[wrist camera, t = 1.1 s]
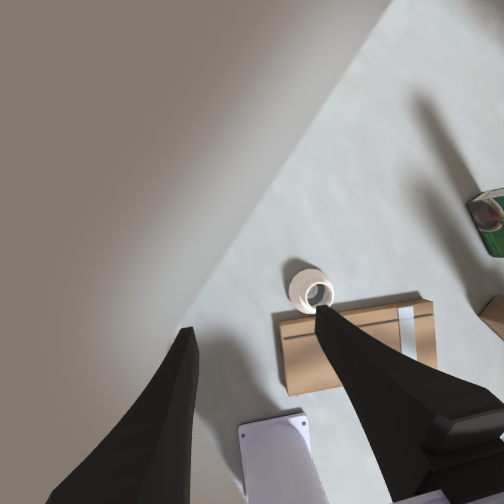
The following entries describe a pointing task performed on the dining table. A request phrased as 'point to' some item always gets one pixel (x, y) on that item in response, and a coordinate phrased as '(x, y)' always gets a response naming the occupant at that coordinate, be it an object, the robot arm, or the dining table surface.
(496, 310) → the wooden block
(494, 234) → the coffee box
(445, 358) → the dining table surface
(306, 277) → the lidless jar
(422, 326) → the board
